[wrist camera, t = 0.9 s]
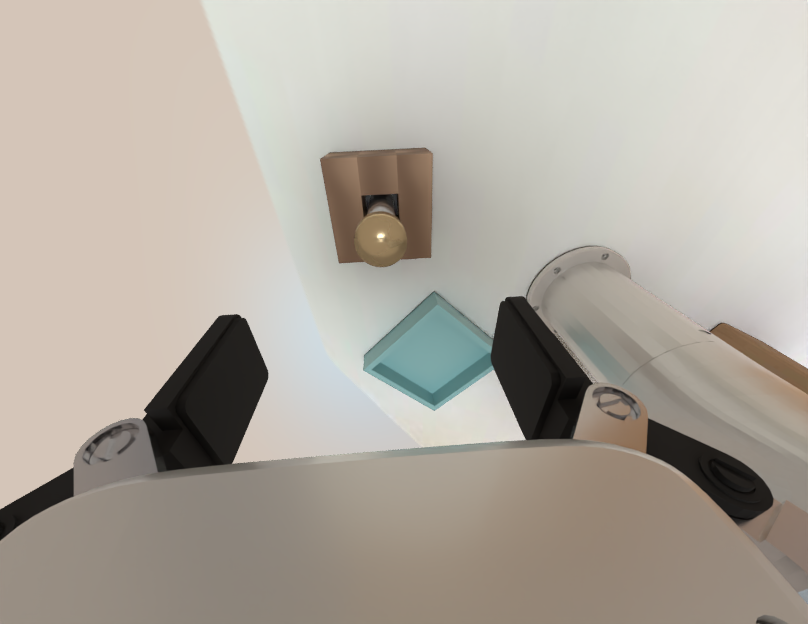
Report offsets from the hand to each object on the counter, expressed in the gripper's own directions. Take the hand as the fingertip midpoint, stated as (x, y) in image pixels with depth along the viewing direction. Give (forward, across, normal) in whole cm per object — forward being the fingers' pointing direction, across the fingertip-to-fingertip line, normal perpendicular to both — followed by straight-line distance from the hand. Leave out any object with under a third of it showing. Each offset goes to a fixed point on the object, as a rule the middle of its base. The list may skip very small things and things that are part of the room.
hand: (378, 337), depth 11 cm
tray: (+22, -6, +22) cm, 32 cm away
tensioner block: (+23, 0, 0) cm, 23 cm away
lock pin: (+23, 0, 0) cm, 23 cm away
